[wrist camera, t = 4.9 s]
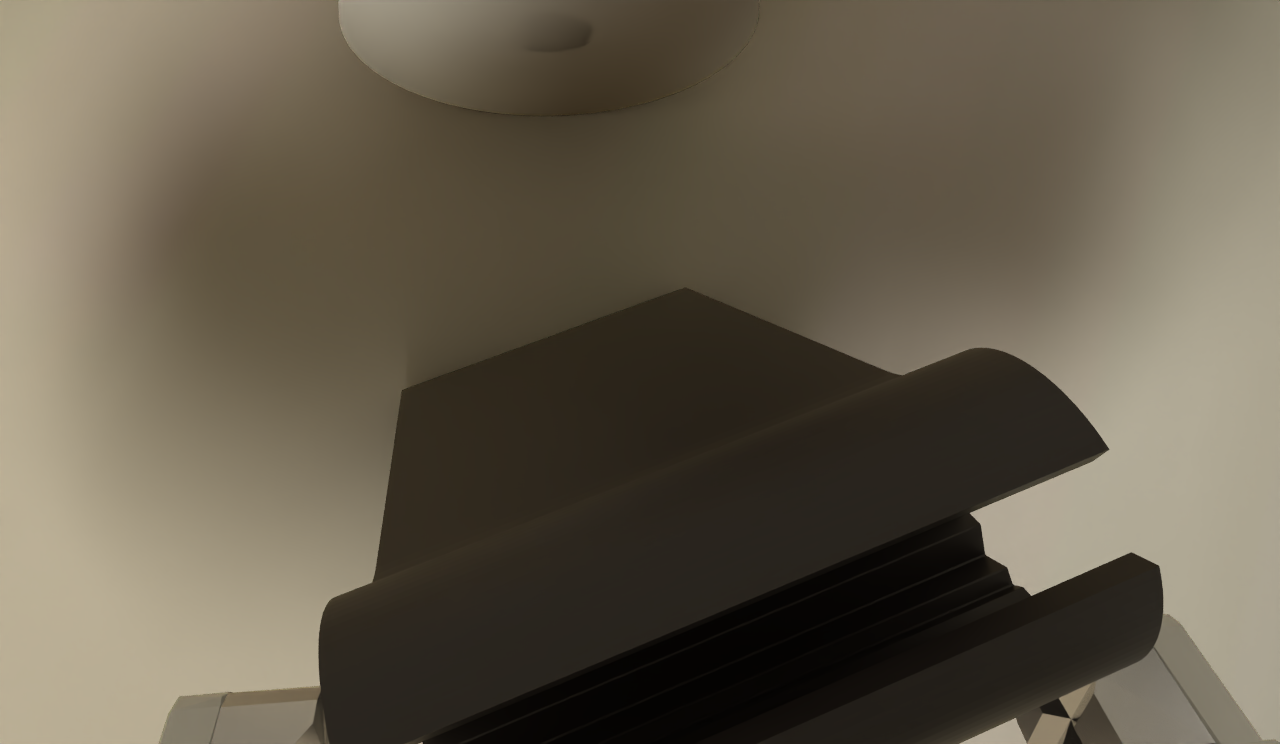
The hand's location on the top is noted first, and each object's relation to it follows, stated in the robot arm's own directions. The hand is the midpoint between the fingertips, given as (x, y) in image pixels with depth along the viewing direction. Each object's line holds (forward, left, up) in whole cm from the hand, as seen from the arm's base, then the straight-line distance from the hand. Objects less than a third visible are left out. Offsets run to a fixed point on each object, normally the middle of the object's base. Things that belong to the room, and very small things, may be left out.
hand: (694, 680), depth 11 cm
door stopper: (0, -1, -8) cm, 8 cm away
